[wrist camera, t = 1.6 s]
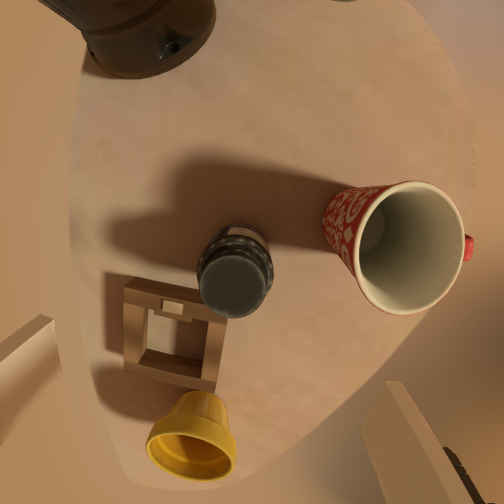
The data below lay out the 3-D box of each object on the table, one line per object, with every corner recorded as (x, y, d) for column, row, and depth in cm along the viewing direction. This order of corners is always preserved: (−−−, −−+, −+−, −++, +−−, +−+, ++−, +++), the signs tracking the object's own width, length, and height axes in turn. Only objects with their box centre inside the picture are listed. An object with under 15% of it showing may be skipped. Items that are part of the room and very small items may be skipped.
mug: (307, 261, 31) (342, 315, 18) (316, 174, 29) (363, 169, 16) (409, 269, 31) (479, 315, 18) (421, 191, 29) (502, 202, 16)
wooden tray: (135, 276, 32) (122, 288, 28) (231, 296, 32) (228, 310, 28) (133, 356, 34) (123, 372, 30) (217, 375, 34) (214, 394, 31)
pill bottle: (227, 289, 32) (215, 340, 21) (199, 240, 31) (171, 270, 20) (279, 263, 31) (291, 305, 20) (252, 211, 30) (250, 228, 19)
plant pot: (161, 420, 37) (143, 469, 27) (168, 369, 34) (146, 421, 25) (229, 437, 37) (224, 489, 28) (247, 390, 35) (245, 446, 25)
